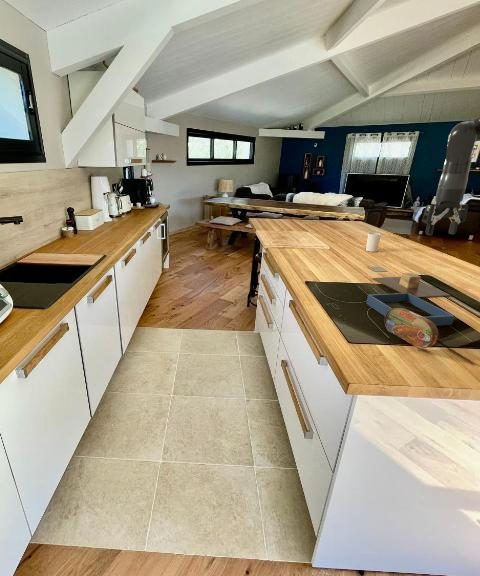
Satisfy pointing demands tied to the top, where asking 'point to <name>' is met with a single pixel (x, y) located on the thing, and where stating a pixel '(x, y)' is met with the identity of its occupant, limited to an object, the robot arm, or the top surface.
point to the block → (410, 280)
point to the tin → (411, 327)
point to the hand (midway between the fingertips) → (440, 234)
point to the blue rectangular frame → (438, 314)
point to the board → (419, 292)
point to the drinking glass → (373, 242)
